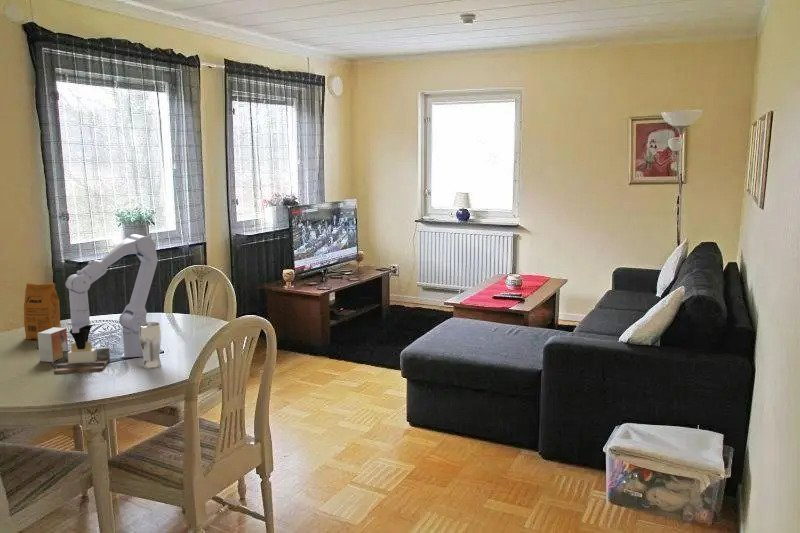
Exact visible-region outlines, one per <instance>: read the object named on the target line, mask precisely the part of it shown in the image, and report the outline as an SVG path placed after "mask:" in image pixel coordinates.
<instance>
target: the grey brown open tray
mask: <svg viewBox="0 0 800 533" xmlns="http://www.w3.org/2000/svg"><path fill="white" fill-rule="evenodd" d="M92 349H97V360H96V361H95V362H86V363H68V352H69V351H71V349H68V350H63V358H62V361H61V362H60V363H57V364H56V368H55V369H54V370H53V373H54V374H56V375H57V374H71V373H91V372H103V371H104V369H105V368H106V367H107V365H108V363H110V360H111V354H110V347H100V348H99V347H98V348H97V347H96V348H94V347H92Z"/></svg>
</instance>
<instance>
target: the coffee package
mask: <svg viewBox="0 0 800 533" xmlns="http://www.w3.org/2000/svg"><path fill="white" fill-rule="evenodd" d="M24 292H25V294H24V304H23V325H24V332H25V333H24V334H25V340H37V341H38V333H39V332H42V331H45V330H48V329H51V328H53V327H56V328H62V327H61V326H62V325H61V313H60V312H61V311H60V309H61V308H60V299H59V296H58V292H57V290H56V283H55V282H52V283H51V282H49V283H42V284H38V283H37V284H36V283H32V282H31V283H30V282H27V283H26V288H25V291H24Z"/></svg>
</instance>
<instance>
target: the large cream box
mask: <svg viewBox="0 0 800 533" xmlns="http://www.w3.org/2000/svg"><path fill="white" fill-rule="evenodd" d="M92 346H93V344H92V341H88V342H86V344H85V349H78V348H77V346H76V343H75V341H73V342H71V343H70V350H71V351H69V352H68V363H86V362H95V361H96V360H97V349H92V348H93V347H92Z"/></svg>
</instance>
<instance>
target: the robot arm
mask: <svg viewBox="0 0 800 533" xmlns="http://www.w3.org/2000/svg"><path fill="white" fill-rule="evenodd" d="M155 242H156V241H154V240H153V239H152V238H151V237H150V236H146V235H140V234H138V233H133V234H130V235H128V237H126V238H124V239H123V240H122V241H121V242H120V243H119V244H118V245H116V247H114V248H113V249H112V250H110V251H109V253H107V254H106V255H105V256H103V257H102V258H101V259H94V260H89V261H88V262H87V265H86V266H84V267H83V268H82V269H80V270H79V269H78V270H77V271H76V273H74V274H70V275H69V276H68V277H67V279H66V281H65V284H64V285H65V288H67V289H68V295H69V296H68V298H69V299H68V300H69V311H70V321H68V322H67V324H66V325H68V326H70V327H71V329H69V334H70V335H71V336H72V338H73V340H74V342H75V343H76V346H77V348H78V349H85V344H86V342H89V336H90V332H91V330H92V328H93V325H92V324H91V320H90V305H89V295H88V291H89V290H90V288H91V285H92V284H93V283H95V281H97V280H98V279H99V278H101V277H102V276H104V275H105V274H106V273H107V272H108V267H110V266H111V265H113V264H115V263H116V262H117V261H118V260H120V259H121V258H123V257H124V256H126V255H133V254H135V255H136V256H137V258H138V259H139V260H140V265H139V268H138V271H137V272H138V273H137V275H136V279H135V282H134V287H133V290H132V293H131V297H130V301H129V303H128V304H127V305H126V306H125V307H124V310H123V312H122V313H121V314H120V316H119V319H118V321H119V322H118V323H119V324H120V326H122V340H123V341H122V343H123V353H122V355H121V356H120V357H121V358H123V359H124V358H139V357H142V358H143V353H142V349H141V345H140V338H139V327H140V326H139V325H140V324H142V323H147V322H148V321H147V316H148V312H147V309H146V303H147V300H148V296H149V293H150V290H151V285H152V282H153V279H154V275H155V272H156V269H157V265H158V261H159V258H158V255H157V249H156V247H157V244H156V243H155Z"/></svg>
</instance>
